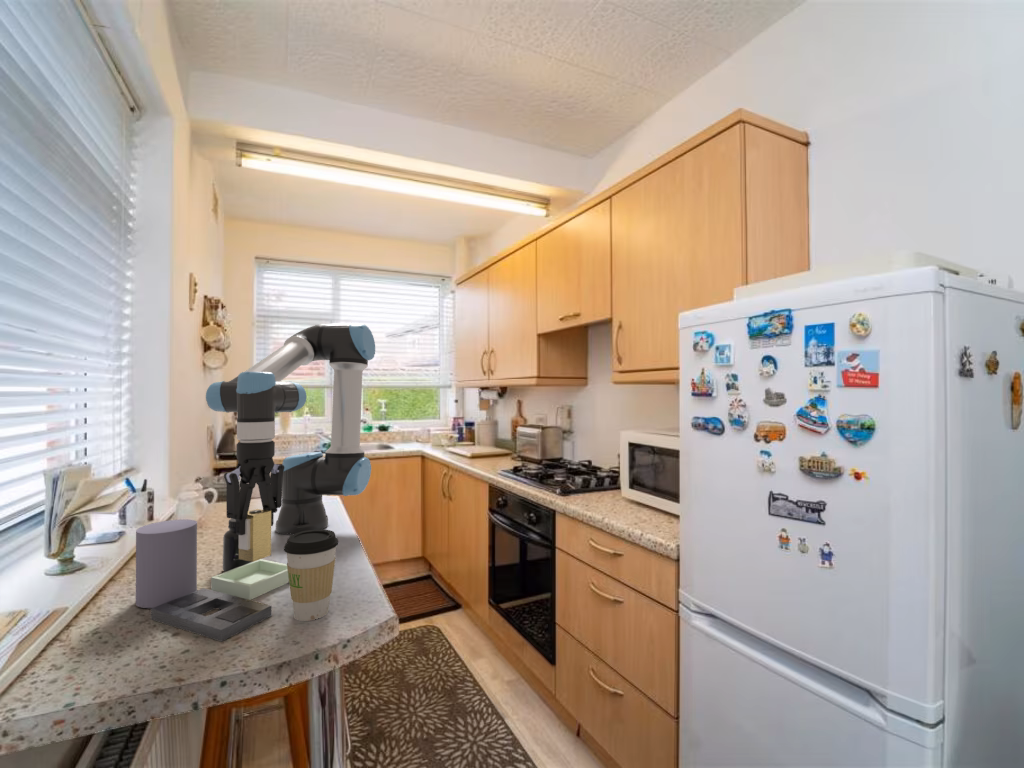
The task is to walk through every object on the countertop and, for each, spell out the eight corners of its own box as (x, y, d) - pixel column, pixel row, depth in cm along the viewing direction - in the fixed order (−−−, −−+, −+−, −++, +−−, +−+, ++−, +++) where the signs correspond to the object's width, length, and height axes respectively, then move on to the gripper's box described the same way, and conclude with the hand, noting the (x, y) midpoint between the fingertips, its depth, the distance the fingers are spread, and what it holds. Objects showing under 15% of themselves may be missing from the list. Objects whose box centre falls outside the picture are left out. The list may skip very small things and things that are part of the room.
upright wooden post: (257, 552, 108) (257, 507, 108) (270, 555, 106) (271, 509, 106) (238, 558, 104) (239, 512, 104) (253, 561, 102) (253, 514, 102)
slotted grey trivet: (203, 597, 98) (203, 587, 98) (271, 615, 90) (271, 604, 90) (150, 619, 89) (150, 608, 89) (221, 641, 81) (221, 629, 81)
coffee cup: (298, 601, 96) (299, 528, 97) (346, 602, 96) (346, 528, 96) (273, 625, 87) (273, 544, 87) (325, 626, 86) (325, 544, 86)
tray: (260, 570, 113) (260, 558, 113) (297, 578, 108) (297, 566, 108) (211, 590, 102) (211, 577, 102) (249, 600, 97) (249, 586, 97)
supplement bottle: (240, 575, 110) (240, 523, 110) (215, 572, 112) (215, 522, 112) (261, 564, 117) (261, 516, 117) (238, 562, 118) (238, 514, 118)
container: (205, 586, 104) (206, 518, 104) (181, 607, 94) (181, 532, 94) (153, 589, 102) (154, 520, 103) (123, 611, 92) (123, 535, 92)
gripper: (277, 436, 115) (276, 532, 114) (205, 443, 99) (204, 555, 98) (300, 437, 112) (299, 536, 111) (230, 445, 96) (229, 560, 95)
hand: (255, 544), depth 105 cm, fingers closed on upright wooden post, 4 cm apart
